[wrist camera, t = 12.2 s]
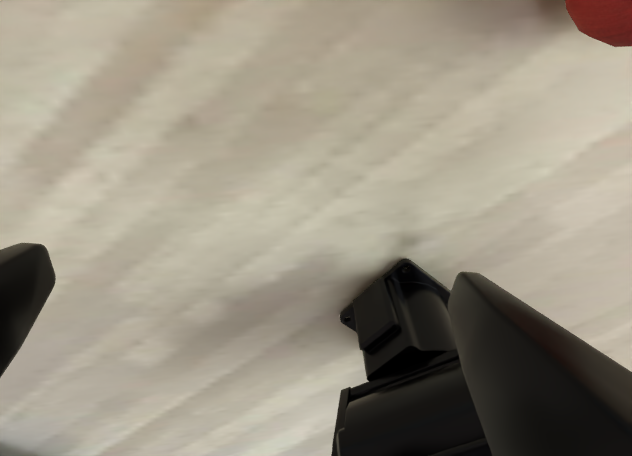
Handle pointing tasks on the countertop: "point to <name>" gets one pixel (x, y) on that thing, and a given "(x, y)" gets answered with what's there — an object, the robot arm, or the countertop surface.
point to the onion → (603, 20)
